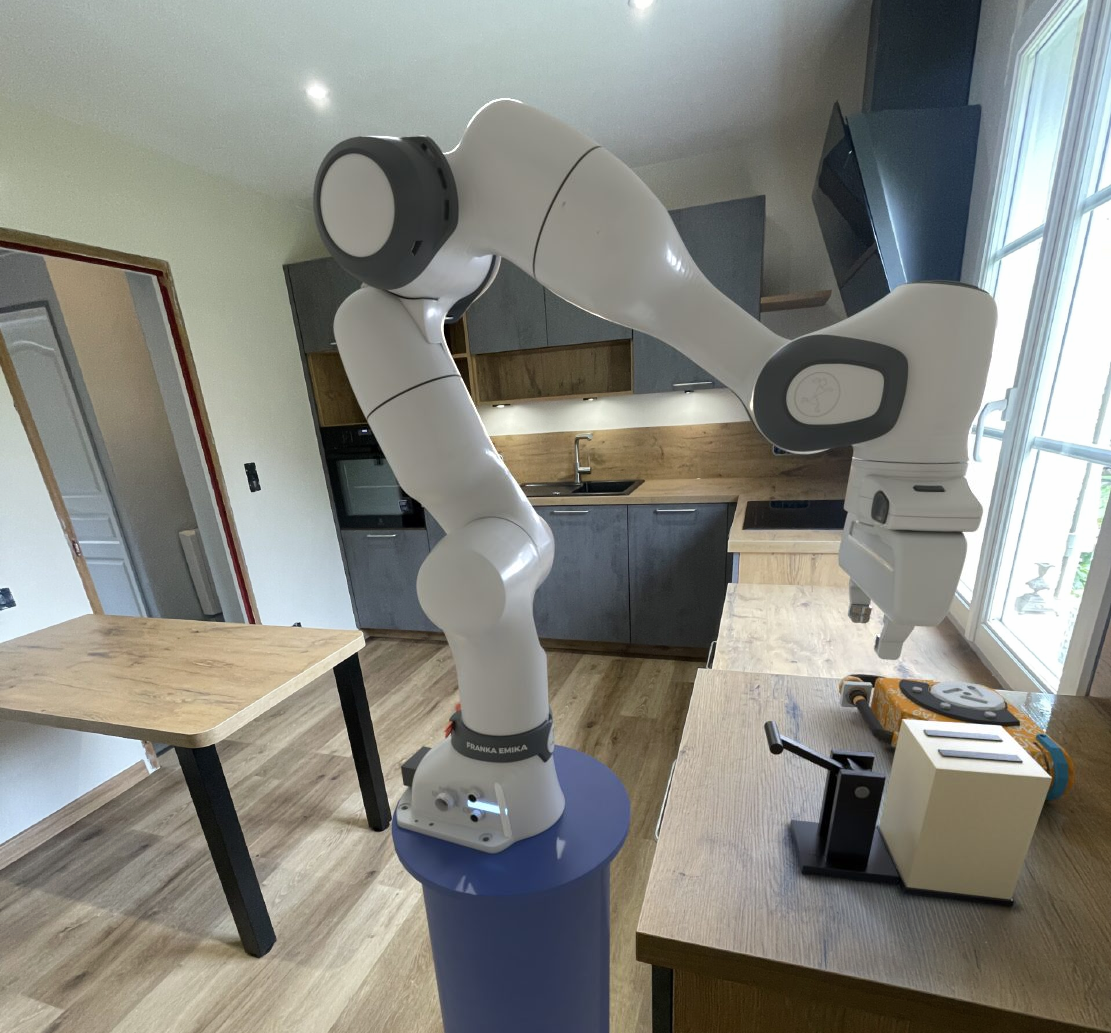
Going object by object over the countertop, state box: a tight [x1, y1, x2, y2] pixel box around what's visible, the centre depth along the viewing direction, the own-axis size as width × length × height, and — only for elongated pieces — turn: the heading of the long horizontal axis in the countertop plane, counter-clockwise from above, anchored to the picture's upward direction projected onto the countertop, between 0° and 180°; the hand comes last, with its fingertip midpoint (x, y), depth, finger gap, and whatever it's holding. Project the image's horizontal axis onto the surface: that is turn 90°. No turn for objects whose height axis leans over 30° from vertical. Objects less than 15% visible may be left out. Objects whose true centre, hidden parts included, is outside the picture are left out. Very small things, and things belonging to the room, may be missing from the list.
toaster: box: [875, 719, 1052, 907], centre depth 64 cm, size 10×10×16 cm
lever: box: [763, 720, 871, 779], centre depth 65 cm, size 12×5×2 cm, turn 78°
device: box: [838, 673, 1076, 801], centre depth 88 cm, size 23×8×30 cm
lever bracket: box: [789, 748, 899, 886], centre depth 66 cm, size 10×8×13 cm
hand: (870, 637), depth 57 cm, fingers open, 8 cm apart
